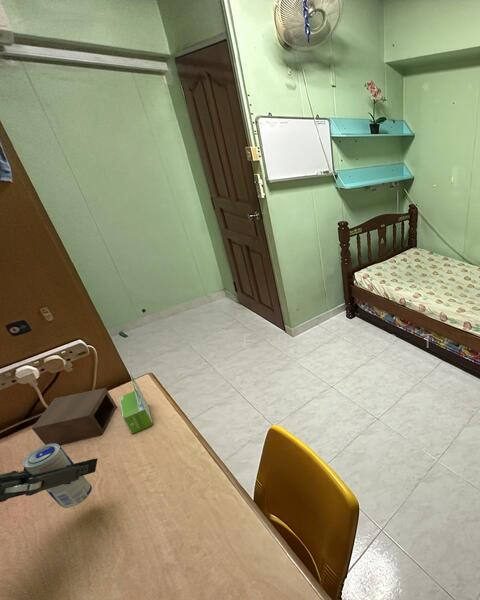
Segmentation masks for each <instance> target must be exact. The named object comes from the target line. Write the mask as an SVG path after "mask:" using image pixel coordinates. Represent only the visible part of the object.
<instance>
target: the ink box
mask: <svg viewBox="0 0 480 600" xmlns="http://www.w3.org/2000/svg"><path fill="white" fill-rule="evenodd" d="M129 375H130V379H131V382H132V387H133V390H134V391H131V392H128V393H126V394H123V395H120V396H119V397H118V399H119V405H120V410H121V415H122V419H123V421H124V423H125V424H126V426H127V428H128V430H129V432H130V433H131V435H133V434H136V433H138V432H141V431H143V430H145V429H147V428H149V427H151V426H153V425H154V421H153V418H152V414H151V410H150V406H149V403H148V401H147V400H146V398H145V396H144V394H143V391H142V390H141V388H140V386H139V384H138V383H137V381H136V379H135V378H134V376H133V375H132V373H131V372H129Z"/></svg>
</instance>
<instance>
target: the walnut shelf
mask: <svg viewBox="0 0 480 600" xmlns="http://www.w3.org/2000/svg"><path fill="white" fill-rule="evenodd" d="M117 407H118V405H117V404H116V402H115V400H114V399H113V398H112V396H111V394H110V393H109V390H108V389H107V387H103V388H98V389H93V390H88V391H84V392H79V393H74V394H69V395H64V396H60V397H54V398H53V400H52V401H51V402H50V403H49V405H48V406H47V408H46V409H45V410H44V411H43V413H42V414H41V415H40V417H39V418H38V420H36V422H35V423H34V424H33V426H32V427H31V430H32V431H33V432H34V433H35V435H36V436H37V437H38V438H39V439H40V440H41V442H42V443H43V445H48V444H58V445H59V446H62V445H67V444H71V443H75V442H78V441H83V440H87V439H91V438H95V437H99V436H103V434H104V432H105V431H106V429H107V427H108V425H109V423H110V421H111V420H112V417H113V415H114V414H115V411H116V409H117Z"/></svg>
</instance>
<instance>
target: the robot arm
mask: <svg viewBox="0 0 480 600" xmlns="http://www.w3.org/2000/svg"><path fill="white" fill-rule="evenodd" d="M97 464H98V458H91V459H87V460H83V461H80V462H76V463H74V464H71V465H67V466H66V467H65V468H60V469H55V470H51V471H46V472H41V473H37V474H32V473H29V472H28V471H27V470H26V469H25V467H24V466H23V470H21V471H19V470H12V471H9V472H5V473H1V474H0V503H4V502H6V501H7V500H10V499H13V498H16V497H20V496H24V495H25V496H27V497H29V496H30V497H31V496H33V495H36V494H38V493H40V492H43V491H46V490H47V489H50V488H53V487H56V486H60V485H63V484H71V482H73V481H76V480H79V477H80V476H86V475H90V474H93V473H95V472H96V471H97V470H96V469H97Z"/></svg>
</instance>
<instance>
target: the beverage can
mask: <svg viewBox="0 0 480 600" xmlns="http://www.w3.org/2000/svg"><path fill="white" fill-rule="evenodd" d="M71 464H75V463H74V462H73V461H72V459H71V458H70V456H68V454H67V453H66V451H65V450H64V449H63V448H62V447H61V445H58V444H48V445H45V444H43V445H42V446H40V447H37V448H36V449H34V450H33V451H31V452H30V453H29V454H27V455H26V457H24V458H23V461H22V466H23V468H24V467H25V469H26V470H27V471H28V472H29V473H32V474H37V473H41V472H46V471H51V470H55V469H60V468H65V467H66V466H67V465H71ZM92 490H93V486H92V484H91V483H90V482H89V480H88V479H87V478H86V476H85V475H83V476H80V477H79V480H76V481H73V482H71V484H63V485H60V486H56V487H53V488H50V489H47V490H45V491H46V492H47V493H48V494H49V495H50V497H51V498H52V499H53V500H54V501H55V502H56V503H57V504H58V505H59V506H60V507H61V508H64V509H69V508H74V507H76V506H78V505H80V504H82V503H83V502H85V501H86V499H88V498H89V496H90V494H91V493H92Z"/></svg>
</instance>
